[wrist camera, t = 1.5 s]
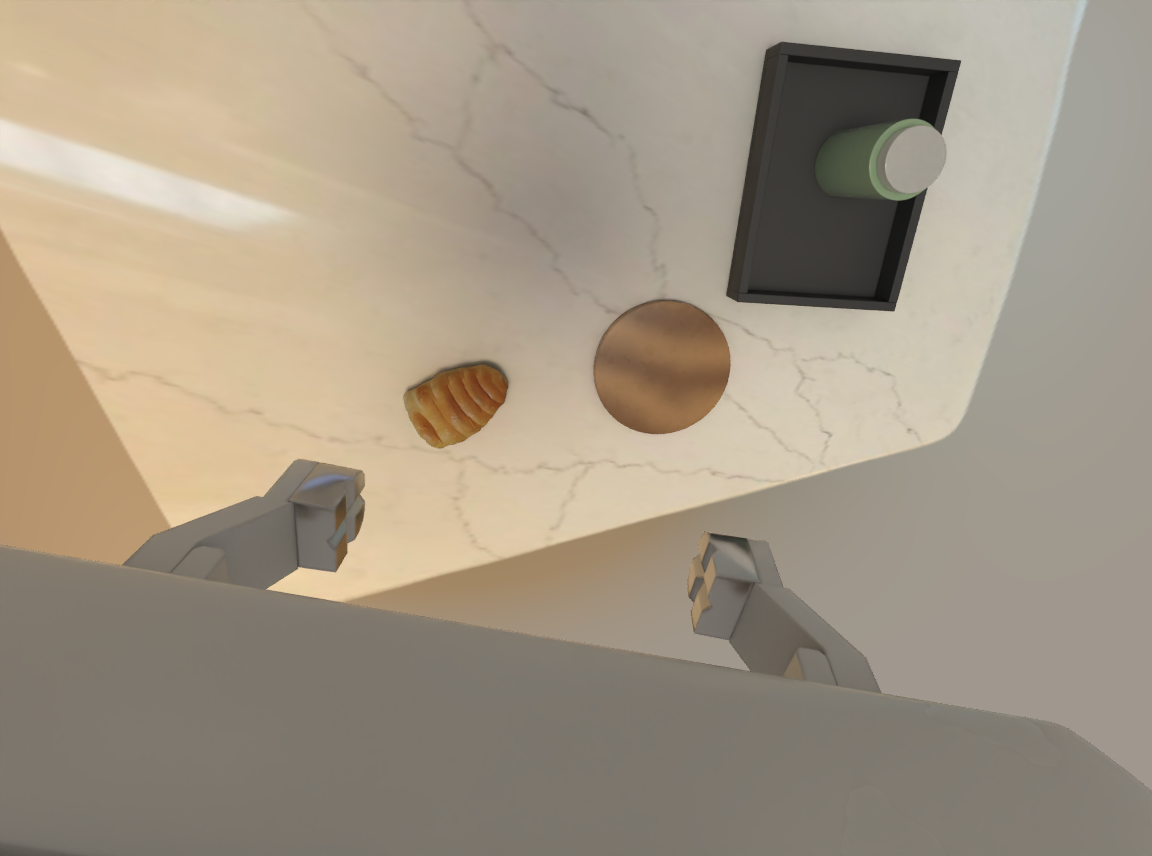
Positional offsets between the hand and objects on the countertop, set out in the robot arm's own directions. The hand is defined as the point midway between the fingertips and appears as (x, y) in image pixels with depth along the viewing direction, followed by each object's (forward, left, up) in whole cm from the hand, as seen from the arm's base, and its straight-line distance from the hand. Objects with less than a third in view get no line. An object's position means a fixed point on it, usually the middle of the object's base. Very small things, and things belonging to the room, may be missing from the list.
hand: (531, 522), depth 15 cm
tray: (-9, +26, -43) cm, 51 cm away
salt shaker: (-11, +27, -42) cm, 51 cm away
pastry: (+12, -6, -43) cm, 45 cm away
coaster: (+8, +13, -43) cm, 45 cm away
